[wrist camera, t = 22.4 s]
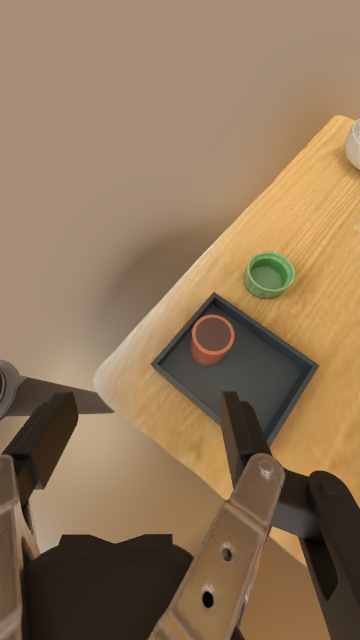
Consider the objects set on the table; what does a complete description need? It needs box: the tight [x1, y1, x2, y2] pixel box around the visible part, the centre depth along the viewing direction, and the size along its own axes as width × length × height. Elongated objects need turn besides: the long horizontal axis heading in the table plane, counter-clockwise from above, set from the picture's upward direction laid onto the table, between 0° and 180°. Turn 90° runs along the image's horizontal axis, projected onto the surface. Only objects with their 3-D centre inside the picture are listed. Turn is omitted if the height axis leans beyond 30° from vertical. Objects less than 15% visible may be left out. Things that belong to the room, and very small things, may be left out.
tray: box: [151, 292, 319, 447], centre depth 40 cm, size 18×22×4 cm
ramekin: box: [245, 251, 295, 299], centre depth 46 cm, size 9×9×4 cm
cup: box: [190, 315, 234, 366], centre depth 38 cm, size 6×6×9 cm
